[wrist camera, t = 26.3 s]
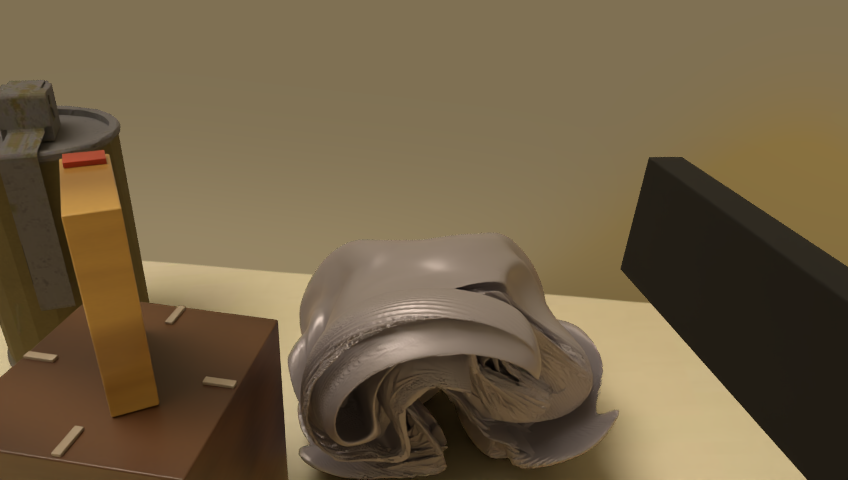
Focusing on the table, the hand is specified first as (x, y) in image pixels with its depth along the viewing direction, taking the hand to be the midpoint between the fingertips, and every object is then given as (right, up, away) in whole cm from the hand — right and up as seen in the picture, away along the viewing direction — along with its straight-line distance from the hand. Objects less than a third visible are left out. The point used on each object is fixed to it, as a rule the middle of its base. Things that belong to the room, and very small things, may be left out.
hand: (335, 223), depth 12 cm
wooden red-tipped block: (-11, -6, +15) cm, 19 cm away
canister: (-25, -8, +36) cm, 45 cm away
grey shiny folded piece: (+3, -13, +31) cm, 33 cm away
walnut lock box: (-12, -17, +21) cm, 30 cm away
